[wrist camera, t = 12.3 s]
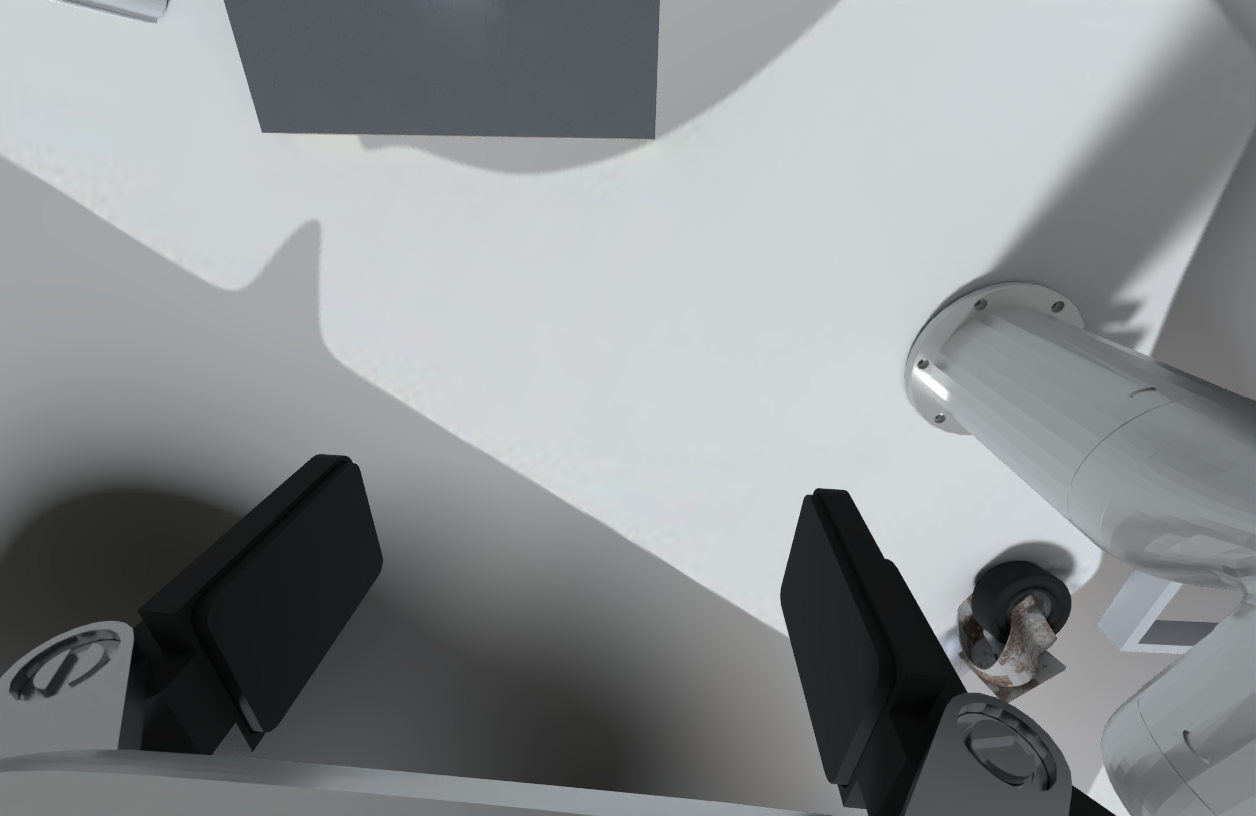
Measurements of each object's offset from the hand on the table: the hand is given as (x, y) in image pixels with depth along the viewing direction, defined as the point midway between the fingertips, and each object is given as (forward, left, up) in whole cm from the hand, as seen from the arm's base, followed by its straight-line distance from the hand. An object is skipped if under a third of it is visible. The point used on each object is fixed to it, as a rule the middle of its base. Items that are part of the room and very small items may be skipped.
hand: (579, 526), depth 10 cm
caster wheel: (-38, +34, -30) cm, 59 cm away
